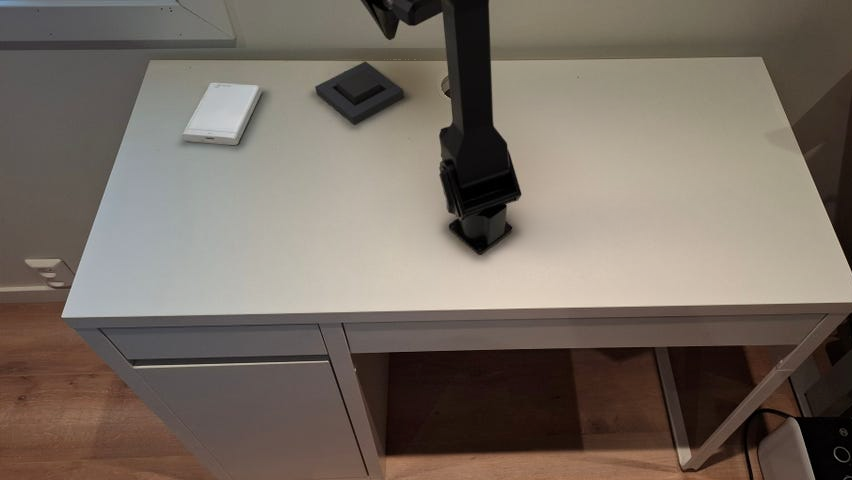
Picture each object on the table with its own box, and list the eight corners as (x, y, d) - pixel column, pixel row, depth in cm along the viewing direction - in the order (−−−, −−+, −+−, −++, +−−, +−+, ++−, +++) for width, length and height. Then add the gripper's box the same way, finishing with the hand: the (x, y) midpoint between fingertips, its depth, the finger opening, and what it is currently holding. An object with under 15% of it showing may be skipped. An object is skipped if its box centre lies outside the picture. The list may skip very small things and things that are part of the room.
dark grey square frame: (404, 97, 99) (403, 89, 98) (354, 125, 95) (352, 117, 93) (366, 68, 103) (365, 61, 102) (316, 94, 99) (314, 86, 98)
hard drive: (210, 81, 97) (181, 133, 90) (259, 85, 97) (234, 137, 90) (213, 90, 99) (185, 141, 92) (262, 93, 99) (238, 145, 91)
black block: (381, 96, 99) (379, 84, 97) (356, 109, 97) (354, 97, 95) (363, 82, 101) (361, 69, 99) (338, 95, 99) (336, 82, 97)
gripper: (473, -65, 77) (472, 43, 90) (381, -112, 85) (392, -6, 97) (407, -36, 72) (415, 74, 85) (316, -88, 80) (336, 20, 93)
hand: (390, 38), depth 90 cm, fingers closed
